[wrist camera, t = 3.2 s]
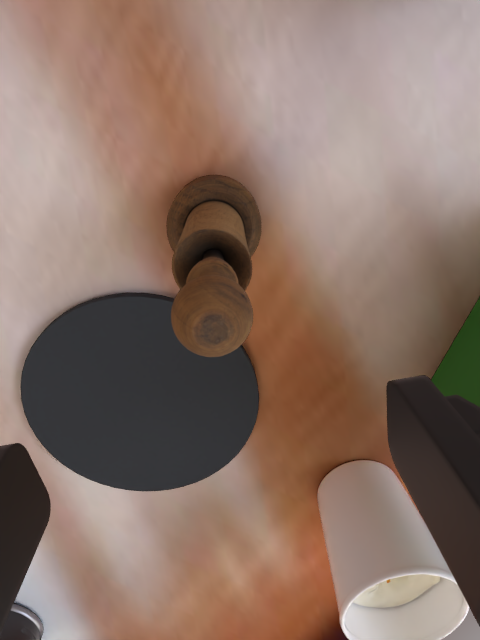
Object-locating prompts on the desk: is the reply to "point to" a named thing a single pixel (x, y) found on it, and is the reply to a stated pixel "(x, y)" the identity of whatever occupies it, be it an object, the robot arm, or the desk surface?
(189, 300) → the brown wooden turned piece
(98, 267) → the desk surface
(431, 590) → the white cup
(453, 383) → the hardback book
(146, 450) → the disc
